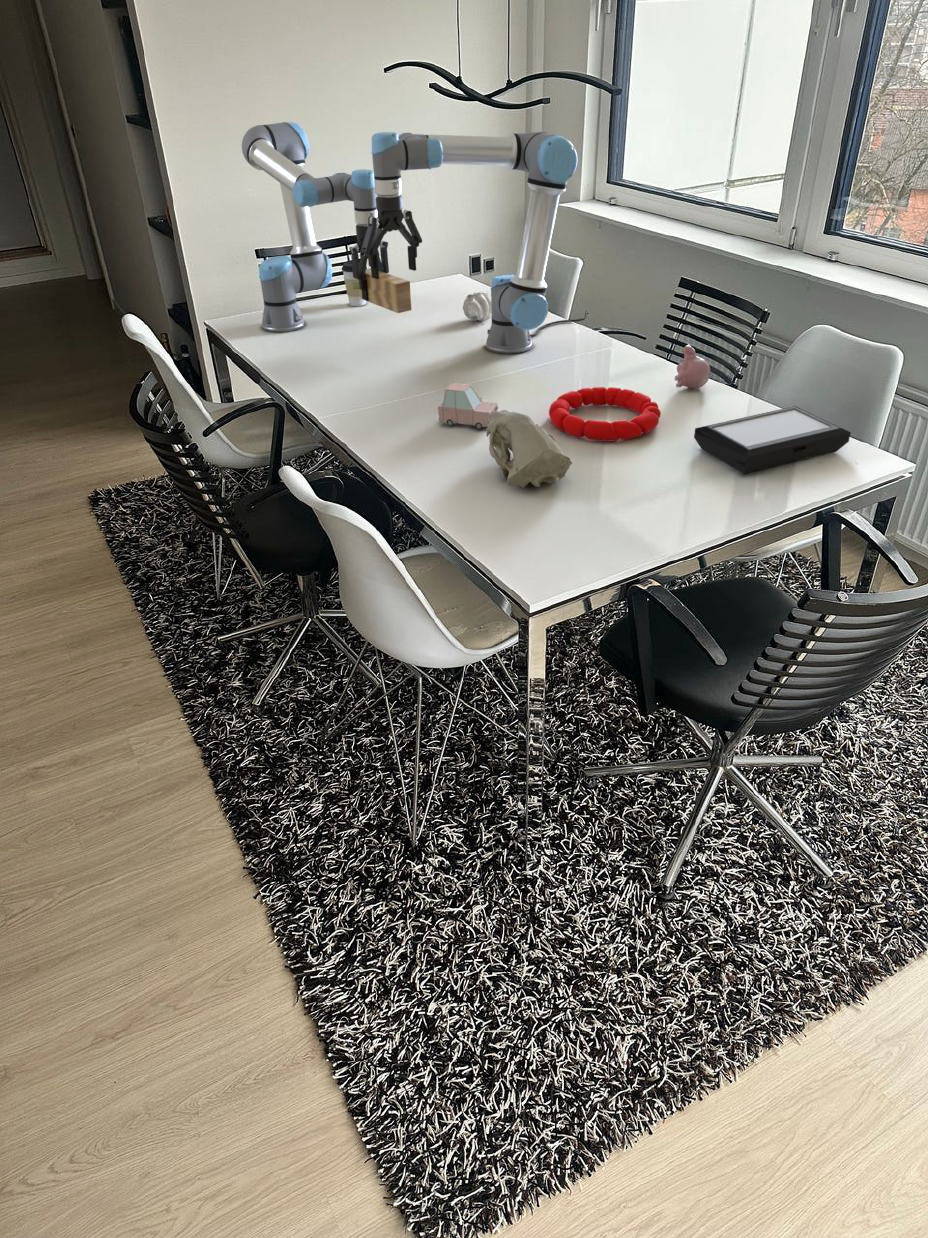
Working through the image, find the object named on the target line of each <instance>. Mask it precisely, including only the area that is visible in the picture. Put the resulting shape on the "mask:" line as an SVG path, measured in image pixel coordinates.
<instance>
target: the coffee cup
mask: <svg viewBox="0 0 928 1238" xmlns="http://www.w3.org/2000/svg"><path fill="white" fill-rule="evenodd" d="M359 264H360V260H359ZM366 269H368V265H367V266H366ZM341 271H342V273H343V280H344V285H345V289H346V295H347V298H348V302H349V306H351V307H362V306H365V305H366V303H367V301H365V300H363V299H361V297H360V288H359V280H358V279H355V278H353V270H352V260H350V261H346V262H344V263H342V266H341Z"/></svg>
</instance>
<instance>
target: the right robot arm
mask: <svg viewBox="0 0 928 1238" xmlns="http://www.w3.org/2000/svg"><path fill="white" fill-rule="evenodd" d="M371 158H372V167H373V168H372V169H373V171H374V185H375V194H376V195H377V197H376V209H377V212H378V216H377V217H371V216H369V217H368V228H367V231H366V235H365V238H364V242H363V246H362V249H361V252H362V253H365V254H367V255H368V259H367V264H368V266H369V267H370V268H371V275H372V278H375V279H379V270H378V257H377V255H375V253H376V251H377V249H378V250H379V248H380V246H379V245H380V243H381V241H383V238H384V237H385V235H386V234H388V233H390V232H393V231H394V232H395V231H396V232H397V231H398V232H399V233H400V234H401V235H402V237H403V238H404V239H405V241H406V242H407V243H408V245H407V260H408V261H407V262H408V263H407V264H408V270H410V271H412V272H413V271H414V272H415V271H417V259H416V258H418V247H419V246H420V244H422V243H423V239H422V236H421V234H420V232H419V230H418V227H417V226H416V223H415V221H414V219H413V212H412V211H411V210H408V209H404V210H403V208H404V203H403V196H402V195H401V194H402V192H403V188H402V187H403V186H402V172H403V171H412V170H431V169H438V168H440V167H441V166H442V165H465V166H466V165H468V166H503V167H504V166H505V167H506V168H507V169H508V170H510V171H511V170H515V171H521V172H525V173H527V174H528V176H527V181H526V185H528V187H529V189H530V194H529V200H528V205H527V211H526V217H525V223H524V229H523V234H522V240H521V244H520V245H521V246H520V251H519V257H518V262H517V269H516V273H515V274H503V275H498V276H494V277H493V278H492V279H491V283H490V296H491V316H490V317H491V325H490V327H489V329H487V330H486V334H487V338H486V344H485V345H486V347H485V348H486V349H487V350H488V351H489V352H492V353H496V354H503V355H512V354H513V355H514V354H520V353H525V352H528V351H529V350H531V349H532V346H533V345H532V344H533V341H532V337H535V336H537V335H538V333H539V332H540V330H542V329H544V328H546V327H548V326H552V325H557V324H562V323H574V322H575V323H576V322H581V321H584V320H586V318H587V317H588V315H589V314H590V313H589V311H588V310H585V313H584V317H581V318H575V319H564V320H556V321H552V322H548V323H546V324H543V323H544V322H545V320H546V318H547V317H548V314H549V304H548V301H547V299H546V294H547V290H548V284H547V283H546V281H545V279H544V278H545V273H546V268H547V262H548V257H549V252H550V247H551V242H552V236H553V232H554V227H555V222H556V215H557V210H558V207H559V201H560V196H561V195H562V194H563V193H565V192H566V190H567V185H568V181H569V180H570V179H571V178H572V177H573V176H574V174H575V172H576V170H577V167H578V153H577V150H576V148H575V146H574V145H573V143H572V142H571V141H570V140H569V139H567V138H566V137H564V136H562V135H559V134H553V133H549V132H546V131H533V132H524V133H523V132H522V133H521V132H519V133H515V132H513V133H512V132H511V133H509V134H508V135H507V136H488V135H487V136H482V135H454V134H453V135H452V134H422V133H421V134H420V133H419V134H418V133H411V132H402V133H400V134H398V132H395V131H382V132H376V133H374V134H373V135H372V136H371ZM403 220H404V222H405V224H406V225H405V224H404V223H403ZM377 225H378V227H377V229H376V226H377ZM406 226H407V227H406ZM407 228H408V229H407ZM376 230H377V232H376V234H375V231H376ZM374 234H375V236H374ZM378 247H379V248H378ZM539 326H540V327H539ZM534 329H537V330H536V331H535V332H534V333H532V334H531V333H530V331H531V330H534Z"/></svg>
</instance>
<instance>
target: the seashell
mask: <svg viewBox="0 0 928 1238" xmlns="http://www.w3.org/2000/svg"><path fill="white" fill-rule="evenodd" d="M462 311H463V315H465V317H466V318H467V319H468V320H470V321H472V322H476V321H487V320H488V319H489V318H490V317H492V316H491V295H489V294H488V293H484V292H474V293H472V294H471V293H470V294H467V296H466V297H465V299H464V300H463V305H462Z"/></svg>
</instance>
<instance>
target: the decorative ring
mask: <svg viewBox="0 0 928 1238" xmlns="http://www.w3.org/2000/svg"><path fill="white" fill-rule="evenodd" d="M583 405H584V406H586V407H587V406H591V405H593V406H604V405H608V406H614V407H619V408H624V409H628V410H632V411H635V412H636V413H638V414H639V415H637V416H635V417H632V418H631V419H630V420H625V419H624V420H623V419H622V420H614V421H611V422H609V421H607V420H606V421H605V420H593V419H587V420H586V421H585V419H584V418H582V417H579V416H577V415H573V414H571V413H570V410H571V409H579V408H581V407H582V406H583ZM548 416H549V419H550V422H551V423H552V425H553V426H554V427H555V428H556V429H558V430H559V431H561V432H563V433H567V434H568V435H569V436H573V437H576V438H580V439H582V438H583V437H585V438H586V439H587V440H591V441H601V442H602V441H603V442H608V441H609V442H610V441H611V442H612V441H615V442H616V441H618V440H630V439H634V438H638V437H641V436H642V434H647V433H650V432H651V431H653V430H654V429H655V428H656V427H657V426H658V424H659V422H660V421H659V420H660V417H661V410H660V408H659V405H658V403H657V402H656V401H652V399H651V397H649V396H648V395H646V394H644V393H642V392H635V391H634V390H632V389H628V388H624V389H622V388H620V387H613V386H612V387H611V386H610V387H608V388H606V387H604V386H594V387H585V388H584V387H583V388H580V389H578V390H571V391H568V392H565V393H563V394H561V395H560V396H558V397H557V398H556V400H554V401H552V403H551V404H550V407H549V409H548Z"/></svg>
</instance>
